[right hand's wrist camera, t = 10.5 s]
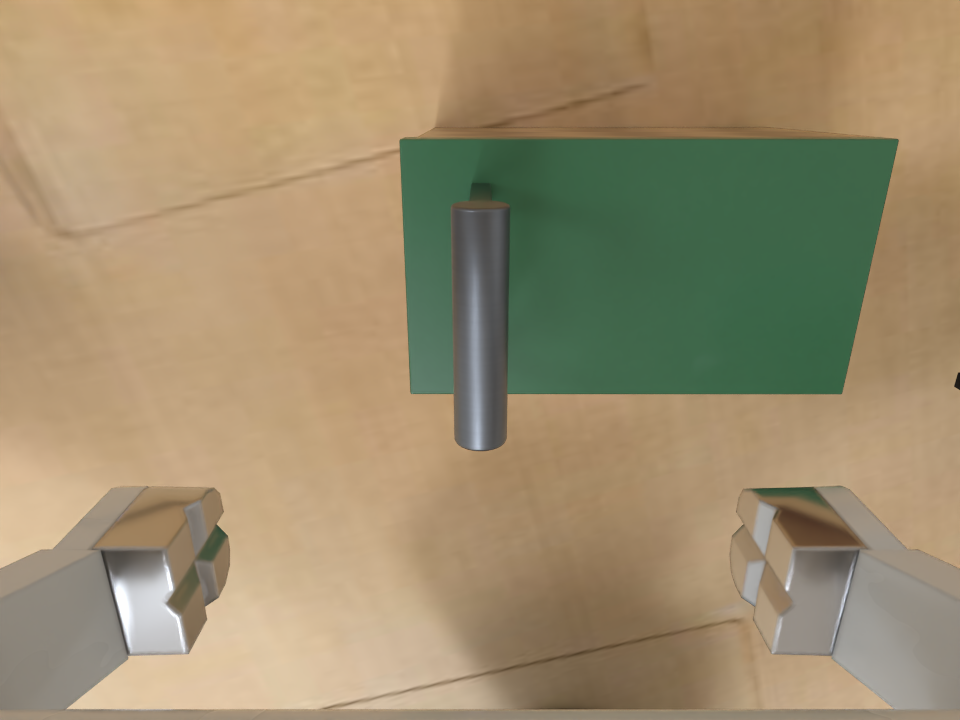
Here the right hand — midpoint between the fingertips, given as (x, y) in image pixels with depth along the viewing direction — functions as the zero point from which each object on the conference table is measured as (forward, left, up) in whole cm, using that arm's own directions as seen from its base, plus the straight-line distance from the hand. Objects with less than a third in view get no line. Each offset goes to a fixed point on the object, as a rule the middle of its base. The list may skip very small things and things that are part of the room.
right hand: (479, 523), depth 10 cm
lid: (+4, +4, -17) cm, 18 cm away
